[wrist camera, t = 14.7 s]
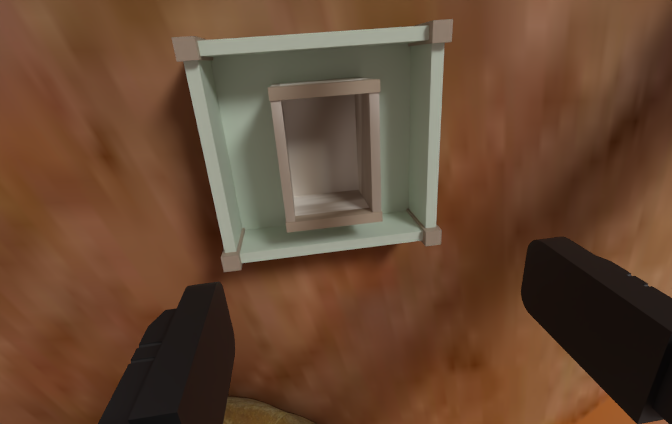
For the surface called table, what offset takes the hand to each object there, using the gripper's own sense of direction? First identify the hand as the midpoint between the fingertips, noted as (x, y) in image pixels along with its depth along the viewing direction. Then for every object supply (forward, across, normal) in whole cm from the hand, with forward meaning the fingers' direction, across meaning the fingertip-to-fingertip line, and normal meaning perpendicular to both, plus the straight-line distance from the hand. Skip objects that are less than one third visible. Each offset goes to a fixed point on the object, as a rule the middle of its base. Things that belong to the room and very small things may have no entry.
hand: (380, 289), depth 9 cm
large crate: (+20, 0, 0) cm, 21 cm away
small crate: (+20, 0, 0) cm, 20 cm away
